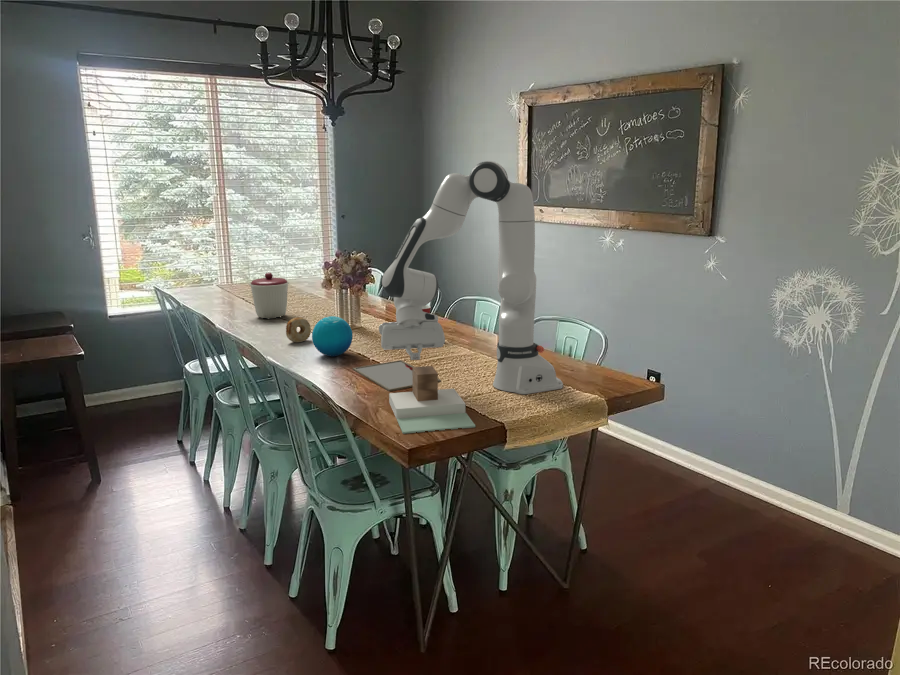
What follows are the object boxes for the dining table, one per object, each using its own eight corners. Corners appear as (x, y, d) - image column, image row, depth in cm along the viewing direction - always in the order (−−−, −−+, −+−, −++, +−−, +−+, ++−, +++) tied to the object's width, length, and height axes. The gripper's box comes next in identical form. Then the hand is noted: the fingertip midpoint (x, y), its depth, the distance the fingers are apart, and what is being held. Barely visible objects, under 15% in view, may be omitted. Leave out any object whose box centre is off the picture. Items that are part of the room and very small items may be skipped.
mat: (466, 414, 194) (466, 412, 194) (475, 427, 185) (475, 425, 184) (397, 420, 190) (397, 418, 190) (402, 433, 180) (402, 431, 180)
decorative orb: (340, 362, 245) (338, 322, 242) (305, 358, 251) (302, 319, 247) (360, 352, 259) (359, 314, 255) (326, 348, 264) (324, 311, 261)
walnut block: (432, 391, 205) (432, 365, 203) (437, 399, 197) (437, 373, 195) (412, 392, 204) (412, 367, 202) (417, 401, 196) (417, 374, 194)
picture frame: (440, 382, 224) (401, 362, 247) (440, 380, 224) (401, 360, 247) (388, 392, 214) (352, 370, 237) (388, 389, 214) (352, 367, 237)
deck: (454, 397, 208) (454, 388, 207) (465, 413, 195) (465, 403, 194) (389, 402, 204) (389, 393, 203) (396, 419, 191) (396, 409, 190)
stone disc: (290, 344, 270) (288, 320, 268) (285, 343, 273) (284, 318, 270) (313, 340, 277) (311, 316, 274) (308, 338, 279) (307, 315, 277)
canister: (297, 313, 327) (294, 270, 322) (281, 321, 310) (278, 276, 305) (262, 312, 331) (259, 269, 325) (244, 320, 313) (241, 275, 308)
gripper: (378, 317, 214) (383, 355, 207) (442, 315, 218) (448, 352, 211) (377, 328, 219) (381, 365, 212) (439, 325, 223) (445, 362, 217)
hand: (415, 359), depth 212 cm, fingers closed
